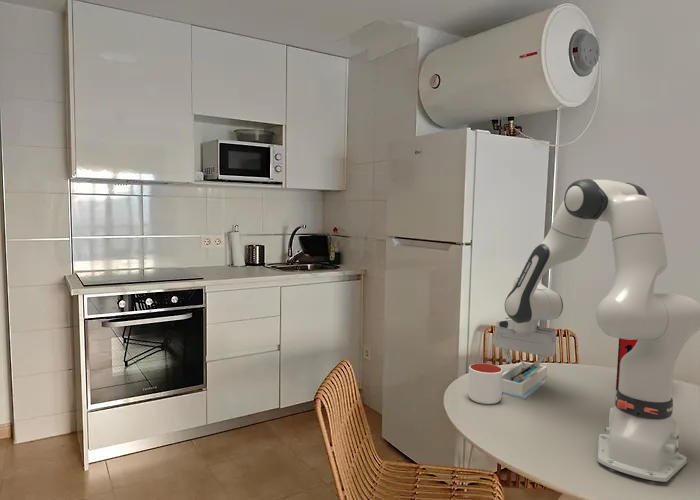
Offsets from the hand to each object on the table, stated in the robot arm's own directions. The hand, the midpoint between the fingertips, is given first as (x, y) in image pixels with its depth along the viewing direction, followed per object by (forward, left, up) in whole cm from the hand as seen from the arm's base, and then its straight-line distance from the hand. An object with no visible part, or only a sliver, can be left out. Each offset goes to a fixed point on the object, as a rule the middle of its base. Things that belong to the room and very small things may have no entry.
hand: (522, 364), depth 166 cm
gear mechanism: (0, +4, -5) cm, 7 cm away
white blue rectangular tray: (0, 0, -7) cm, 7 cm away
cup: (-21, +4, -7) cm, 23 cm away
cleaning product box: (+21, -31, -7) cm, 38 cm away
